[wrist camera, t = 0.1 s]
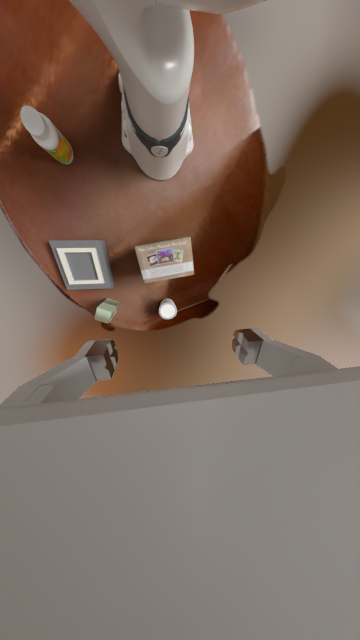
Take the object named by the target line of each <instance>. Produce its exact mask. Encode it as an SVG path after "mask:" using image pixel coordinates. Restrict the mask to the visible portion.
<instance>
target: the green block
mask: <svg viewBox="0 0 360 640" xmlns="http://www.w3.org/2000/svg"><path fill="white" fill-rule="evenodd" d="M118 306H119V302H117V301H115V300H112V299H109V298H107V299H106V300H105V301H104V302H102V303H101V304H100V305H99V306H98V307H97V310H96V314H95V318H94V319H96V320H99V321H102V322H105V323H109V322H110V321H111V319H112V318H113V316H114V315H115V313H116V312H117V309H118Z"/></svg>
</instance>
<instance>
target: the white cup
mask: <svg viewBox="0 0 360 640" xmlns="http://www.w3.org/2000/svg"><path fill="white" fill-rule="evenodd" d="M176 313H177V309H176V306H175V304H174V302H173V301H172V300H171V299H169V298H166V299H163V300H162V301H161V304H160V307H159V314H160V316H161V317H162V318H164V319H171V318H173V317H175V315H176Z"/></svg>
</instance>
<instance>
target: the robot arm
mask: <svg viewBox="0 0 360 640" xmlns="http://www.w3.org/2000/svg"><path fill="white" fill-rule="evenodd" d="M69 1H70V2H71V3H72V4H73V6H74V7H75V8H76V9H77V10H78V11H79V12H80V13H81V14H82V16H83V17H84V18H85V19H86V20H87V22H88V23H89V24H90V25H91V27H92V28H93V29H94V31H95V32H96V33H97V34H98V36H99V37H100V39H101V40H102V41H103V43H104V44H105V46H106V47H107V48H108V50H109V52H110V53H111V55H112V56H113V58H114V60H115V61H116V63H117V66H118V69H119V72H120V73H119V88H120V92H121V93H122V101H121V109H122V144H123V146H124V148H125V149H126V150H127V151H128V152H129V153H130V154H131V155H132V156H133V157H134V158H135V160H136V162H137V163H138V165H139V167H140V168H141V169H142V171H143V172H144V173H145V174H147V175H148V176H149V177H151V178H153V179H156V180H166V179H169V178H171V177H172V176H174V175H175V174H176V173H177V171H178V170H179V168H180V166H181V164H182V162H183V160H184V159H185V158H186V157H187V156H188V155H189V154H190V153H191V152H192V150H193V137H192V128H191V119H190V110H189V88H190V82H191V76H192V70H193V63H194V37H193V28H192V22H191V17H190V13H189V10H194V11H200V12H207V13H213V14H220V15H222V14H226V13H229V12H233V11H237V10H241V9H244V8H247V7H250V6H252V5H255V4H258V3H261V2H264V1H266V0H69ZM126 135H127V137H126ZM233 335H234V337H235V338H234V339H233V340H232V349H233V351H234V353H235V354H237V355H239V357H238V358H239V360H240V361H241V363H242V364H243V365H248V364H256V365H257V366H259V367H260V368H262V369H263V370H265V371H266V372H268V373H269V374H271V375H273V377H265V378H256V379H248V380H239V381H230V382H221V383H213V384H205V385H196V386H187V387H180V388H170V389H162V390H153V391H145V392H137V393H127V394H119V395H110V396H102V397H93V398H85V399H79V398H80V397H81V396H82V395H83V394H84V393H85V392H86V391H87V390H88V389H89V388H90V387H91V386H92V385H93V384H94V383H95V382H96V381H98V380H106V379H111V378H112V376H113V373H114V371H115V370H114V367H115V366H116V365H117V363H118V351H117V350H116V349H115V346H116V344H115V341H114V340H113V339H112V340H97V341H96V340H95V341H88V342H86V343H85V345H84V346H83V347H82V348H81V349H80V351H79V352H78V353H77V354H76V356H75V357H74V358H70V359H68V360H67V361H65V362H63V363H61V364H59V365H57V366H56V367H54V368H52V369H50V370H49V371H47V372H45V373H43V374H41V375H39V376H38V377H36V378H34V379H32V380H31V381H28V382H27V383H25V384H23V385H21V386H19V387H18V388H17V389H16V390H15V391H14V392H13V393H12V394H11V395H10V396H9V397H8V398H7V399H5V401H3V402H2V403H1V404H0V640H360V366H359V367H350V368H341V369H338V368H336V367H335V366H333V365H332V364H330V363H329V362H327V361H326V360H324V359H323V358H322V357H320V356H318V355H315V354H312V353H309V352H307V351H304V350H301V349H298V348H295V347H293V346H290V345H287V344H284V343H281V342H279V341H276V340H271V339H270V338H269V337H268V336H267V335H265V334H264V333H263V332H262V331H260V330H259V329H258V328H249V329H240V330H235V331H234V334H233Z"/></svg>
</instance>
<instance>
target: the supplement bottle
mask: <svg viewBox="0 0 360 640" xmlns="http://www.w3.org/2000/svg"><path fill="white" fill-rule="evenodd" d="M20 116H21V120H22V123H23V125H24V126H25V128H26V129H27V130H28V131H29V132H30V134H31V136H32V137H33V139H34V140H35V141H36V142H37V143H38V144H39V145H40V146H41V147H42V148H43V149H44V150H46V151H47V152H48V153H49V154H50V155H51V156H53V157H54V158H55V159H56V160H57V161H59V162H60V163H62V164H70V163H71V162H72V160H73V150H72V147H71V145H70V143H69V142H68V141H67V139H66V138H65V137H64V136H63V135H62V134H61V132H60V131H59V130H58V129H57V128H56V127H55V126H54V124H53V123H52V122H51V121H50V120H49V119H48V118H47V117H46V116H45V115H43V114H42V113H39V112H37V110H35V109H34V108H33V107H31V106H27V105H26V106H23V107H22V109H21V111H20Z"/></svg>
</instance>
